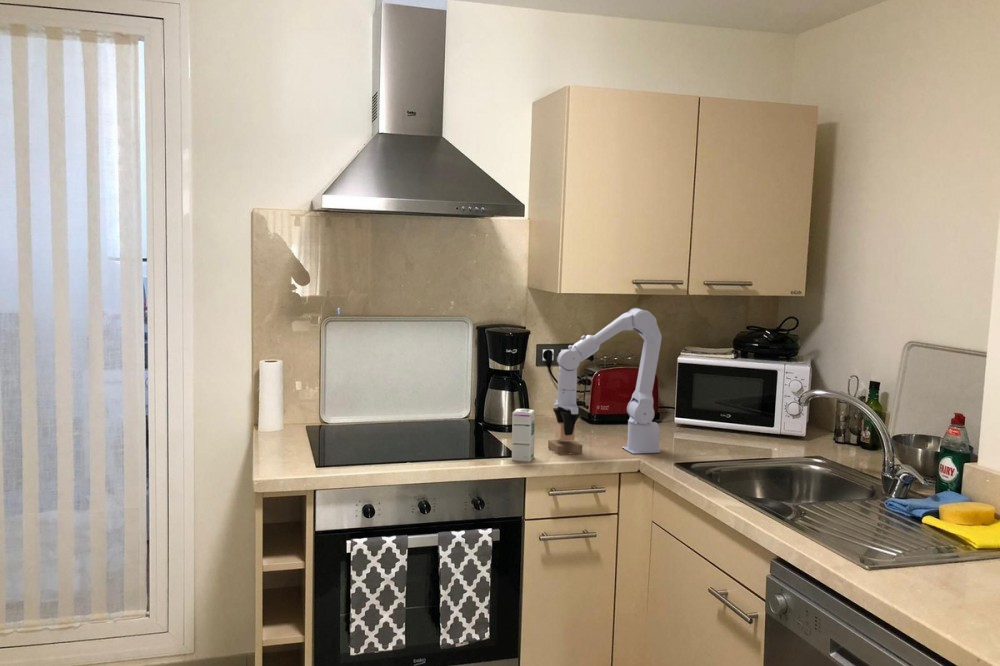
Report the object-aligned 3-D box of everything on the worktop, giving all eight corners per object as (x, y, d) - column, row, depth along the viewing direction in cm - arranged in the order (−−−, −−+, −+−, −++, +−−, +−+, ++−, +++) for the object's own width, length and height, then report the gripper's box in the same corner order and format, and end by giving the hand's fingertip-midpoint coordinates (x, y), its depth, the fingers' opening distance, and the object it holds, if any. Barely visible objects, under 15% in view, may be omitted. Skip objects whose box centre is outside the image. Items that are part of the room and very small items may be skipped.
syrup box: (530, 462, 241) (532, 412, 240) (510, 460, 243) (512, 411, 241) (534, 457, 247) (535, 409, 246) (514, 455, 248) (515, 407, 247)
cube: (569, 436, 258) (569, 422, 258) (574, 439, 254) (574, 425, 254) (555, 437, 257) (555, 422, 257) (560, 440, 253) (560, 425, 252)
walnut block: (571, 448, 261) (572, 439, 261) (581, 454, 254) (582, 445, 253) (548, 449, 259) (548, 440, 258) (557, 455, 251) (557, 446, 251)
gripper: (546, 385, 260) (545, 428, 261) (563, 393, 246) (561, 438, 247) (567, 385, 262) (566, 427, 263) (585, 393, 248) (583, 437, 250)
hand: (565, 432), depth 256 cm, fingers closed on cube, 4 cm apart
